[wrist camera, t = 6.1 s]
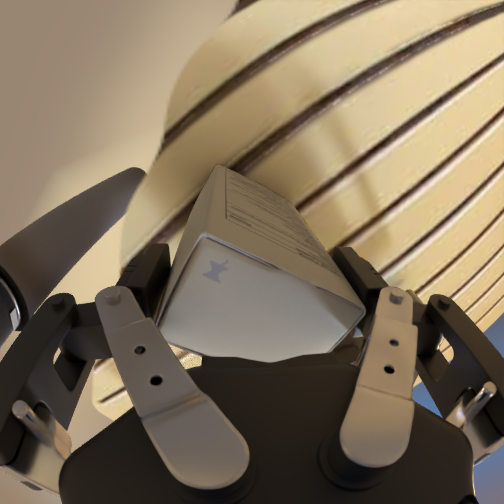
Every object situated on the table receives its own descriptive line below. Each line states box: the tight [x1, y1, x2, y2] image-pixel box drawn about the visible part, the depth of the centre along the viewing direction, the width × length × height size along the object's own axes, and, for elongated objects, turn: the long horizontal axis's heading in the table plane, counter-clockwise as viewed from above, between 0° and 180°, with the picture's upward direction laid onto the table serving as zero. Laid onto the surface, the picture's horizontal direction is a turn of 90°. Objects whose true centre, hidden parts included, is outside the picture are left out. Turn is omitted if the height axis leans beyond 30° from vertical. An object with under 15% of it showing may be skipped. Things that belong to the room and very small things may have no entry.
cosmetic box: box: [155, 164, 366, 362], centre depth 14 cm, size 6×4×12 cm
